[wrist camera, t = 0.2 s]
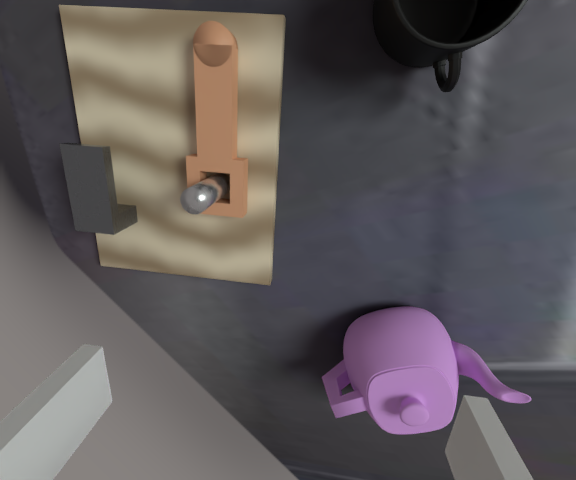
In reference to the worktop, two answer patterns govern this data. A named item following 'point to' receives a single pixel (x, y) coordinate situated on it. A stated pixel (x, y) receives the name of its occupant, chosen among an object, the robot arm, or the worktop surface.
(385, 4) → the mug
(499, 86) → the worktop surface
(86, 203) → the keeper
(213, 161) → the link
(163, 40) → the board
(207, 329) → the worktop surface
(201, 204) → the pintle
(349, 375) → the teapot
